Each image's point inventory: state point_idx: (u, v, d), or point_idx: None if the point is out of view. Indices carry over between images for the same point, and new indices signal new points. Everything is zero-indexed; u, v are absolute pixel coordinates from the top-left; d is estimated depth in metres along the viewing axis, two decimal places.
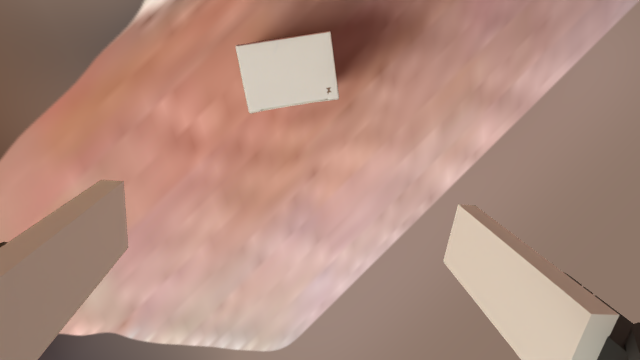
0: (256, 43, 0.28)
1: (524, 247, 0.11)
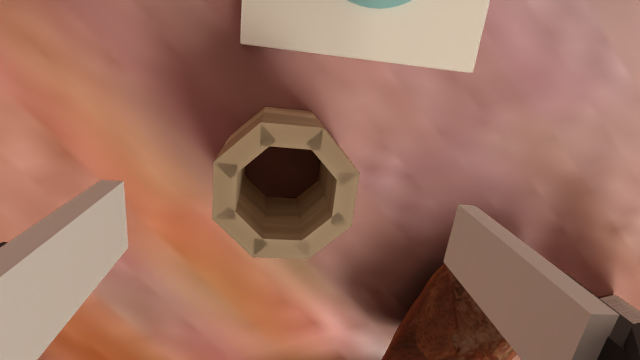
0: None
1: (524, 247, 0.11)
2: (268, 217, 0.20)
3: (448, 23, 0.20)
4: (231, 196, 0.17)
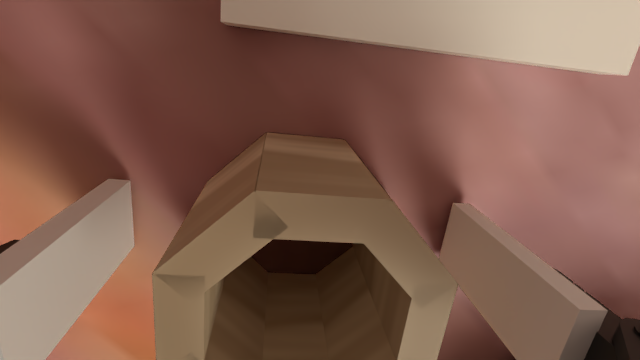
0: None
1: (517, 245, 0.11)
2: (271, 331, 0.12)
3: None
4: (194, 335, 0.08)
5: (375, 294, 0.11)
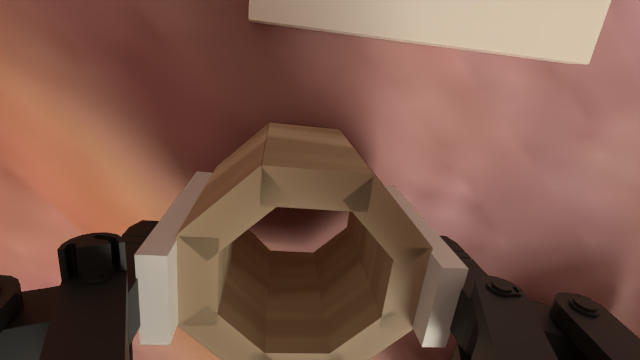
0: None
1: (418, 218, 0.12)
2: (273, 297, 0.13)
3: None
4: (209, 290, 0.10)
5: (365, 264, 0.13)
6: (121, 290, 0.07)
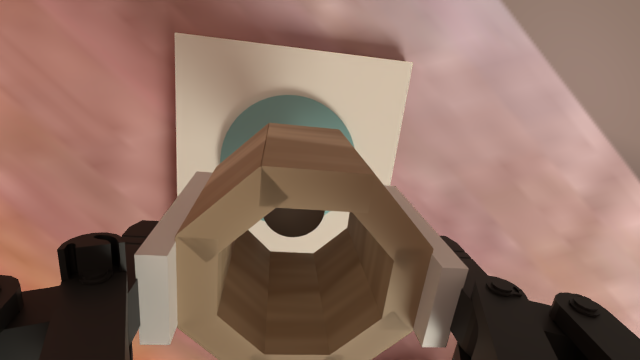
0: None
1: (418, 218, 0.12)
2: (273, 298, 0.13)
3: None
4: (209, 291, 0.10)
5: (365, 265, 0.13)
6: (121, 290, 0.07)
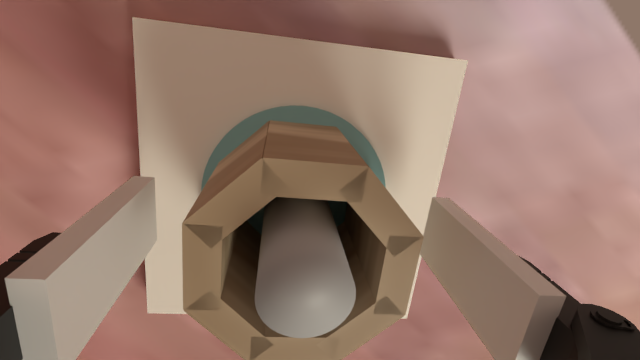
0: None
1: (488, 236, 0.12)
2: None
3: None
4: (213, 275, 0.10)
5: (361, 255, 0.13)
6: None
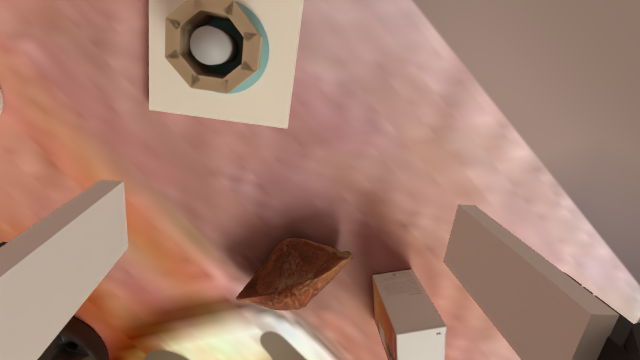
0: None
1: (524, 247, 0.11)
2: (206, 74, 0.31)
3: (269, 101, 0.36)
4: (176, 42, 0.27)
5: None
6: None
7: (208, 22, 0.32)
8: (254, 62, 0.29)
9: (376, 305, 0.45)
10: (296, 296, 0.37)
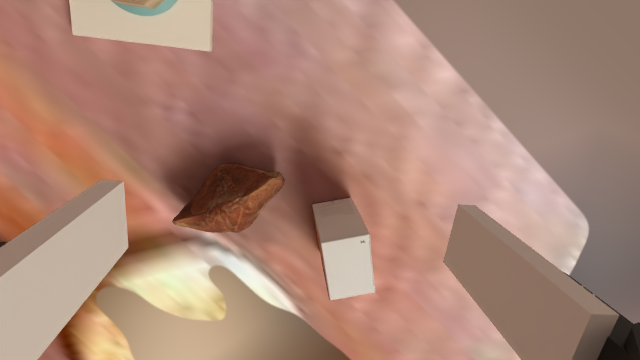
0: (328, 288, 0.39)
1: (524, 247, 0.11)
2: None
3: (189, 24, 0.37)
4: None
5: None
6: None
7: None
8: None
9: None
10: (227, 214, 0.39)
